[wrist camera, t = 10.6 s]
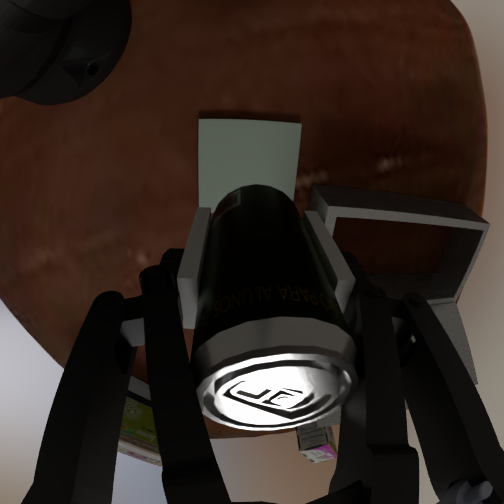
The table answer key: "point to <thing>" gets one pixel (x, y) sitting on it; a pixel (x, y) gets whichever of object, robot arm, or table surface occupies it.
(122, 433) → the tea box
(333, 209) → the case
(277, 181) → the pad
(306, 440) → the candy bar box
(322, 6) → the table surface
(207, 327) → the beer can
